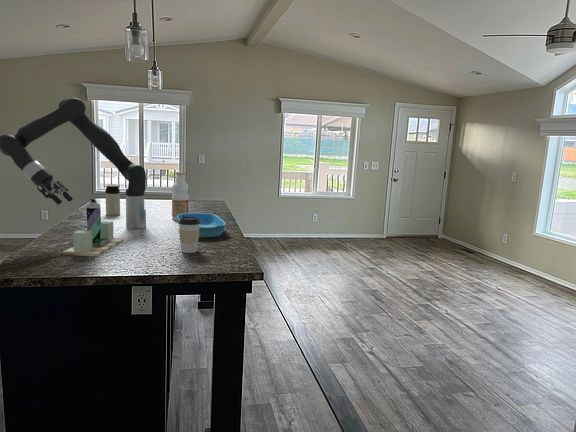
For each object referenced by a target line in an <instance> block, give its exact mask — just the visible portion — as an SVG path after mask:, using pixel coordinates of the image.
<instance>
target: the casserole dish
mask: <svg viewBox="0 0 576 432" xmlns="http://www.w3.org/2000/svg"><path fill="white" fill-rule="evenodd" d="M183 216H185V217H196V218H197V219H198V220H199V221H200V225H199V239H200V238H215V237H216V238H217V237H220V236H222V234H223V232H224V231H225V227H226V225H227V224H226V222H225V220H224V219H222V218H221V217H220V216H219V215H216V214H213V213H207V212H188V213H184V214H178V215H177V218H178V221H177V222H178V223H179V220H181V218H182V217H183Z"/></svg>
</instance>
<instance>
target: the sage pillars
mask: <svg viewBox="0 0 576 432" xmlns="http://www.w3.org/2000/svg"><path fill="white" fill-rule="evenodd" d="M72 235H73V237H72V238H73V247H74V252H81V253H87V252H89V251H91V250H92V231H87V229H85V230H84V229H79V230H76V231H74V232H72ZM101 238H107V239H109V241H110V240H112V239H114V221H111V220H110V221H109V220H101Z"/></svg>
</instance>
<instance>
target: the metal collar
mask: <svg viewBox="0 0 576 432" xmlns="http://www.w3.org/2000/svg"><path fill="white" fill-rule="evenodd" d="M108 243H109V239H107V238H102V241H101V242H99V243H97V242H92V247H93V248H101V247H103V246H105V245H107V244H108Z"/></svg>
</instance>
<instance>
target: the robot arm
mask: <svg viewBox="0 0 576 432" xmlns="http://www.w3.org/2000/svg"><path fill="white" fill-rule="evenodd" d="M68 122H69V123H71V124H73V126H75V127H76V129H78V130H79V131H80V132H81V133H82V134H83V136H84V137H85V138H86V139H87V140H88V141H89V142H90V143H91V144H92V145H93V146H94V147H95V148H96V150H98V151H99V152H100V153H101V154H102V155H103V156H104V157H105V158H106V159H107V160H109V162H110V163H112V164H113V165H114V167H116V169H117V170H118V172H119V173H120V174H121V175H122V176H123V178H124V179H125V180H126V181H127V182H128V185H127V186H128V187H127V189H125V227H126V229H130V230H140V229H143V228H144V229H146V228H147V216H146V215H147V211H146V209H145V191H146V190H147V189H146V188H147V186H146V185H147V172H146V170H145V168H144V167H143V166H142V165H139V164H135V163H134V162H132V161H131V160H130V159H129V158H127V156H126V155H125V154H124V152H123V151H122V149H121V146H120V145H119V144H118V142H117V141H116V139H114V138H113V136H112V135H111V134H110V133H109V132H108V131H106V129H104V128H103V127H102V126H100V125H99V124H97V123H96V122H94V121H92V119H90V118H89V116H88V115H87V114H86V105H85V103H84V101H82V99H80V98H78V97H68V98H64V99H62V100H61V101H59V104H58V108H57V109H56V110H53V111H52V112H50V113H48V114H46V115H43V116H41V117H39V118H36V119H34V120H32V121H30V122H29V123H27V124H25V125H23V126H21V127H20V128H19V129H18V130H17V132H16V134H14V135H12V134H9V133H5V134H1V135H0V152H1V154H3V155H5V156H8V157H10V158H11V159H12V160H13V162H14V164H15V165H16V166H17V168H19V170H21V171H22V173H24V176H26V177H27V178H28V179H29V180H30V181H31V182H32V183H33V184H34V185H35V186H36V187H37V188H36V189H37V191H39V192H40V193H41V194H42V196H44V198H46V199H49V200H52V201H53V202H54V203H56V205H59V206H60V205H61V204H62V203H63V200H62V199H61V198H60V197H58V195H57V194H59V195H61V196H62V197H63V198H64V199H66V201H67V202H69V203H70V202H71V201H72V200H73V199H74V198H73V196H72V195H70V194H69V193H68V191H69V189H68V188H67V187H66V186H65V185H64V184H63V183H62V182H61V181H60V180H57V181H54V176H53V174H52V173H51V172H49V170H48V169H47V168H46V167H44V166H43V164H42V163H40V162H39V161H38V160H37V159H36V158H35V157H34V156H33V155H32V154H30V153H29V152H28V150H27V149H26V147H28V146H29V145H30V144H32V143H33V142H34V141H37V140H39V139H40V138H41V137H43V136H45V135H46V134H48V133H49V132H51V131H53V130H54V129H56V128H58V127H60V126H62V125H63V124H65V123H66V124H67V123H68Z"/></svg>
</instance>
